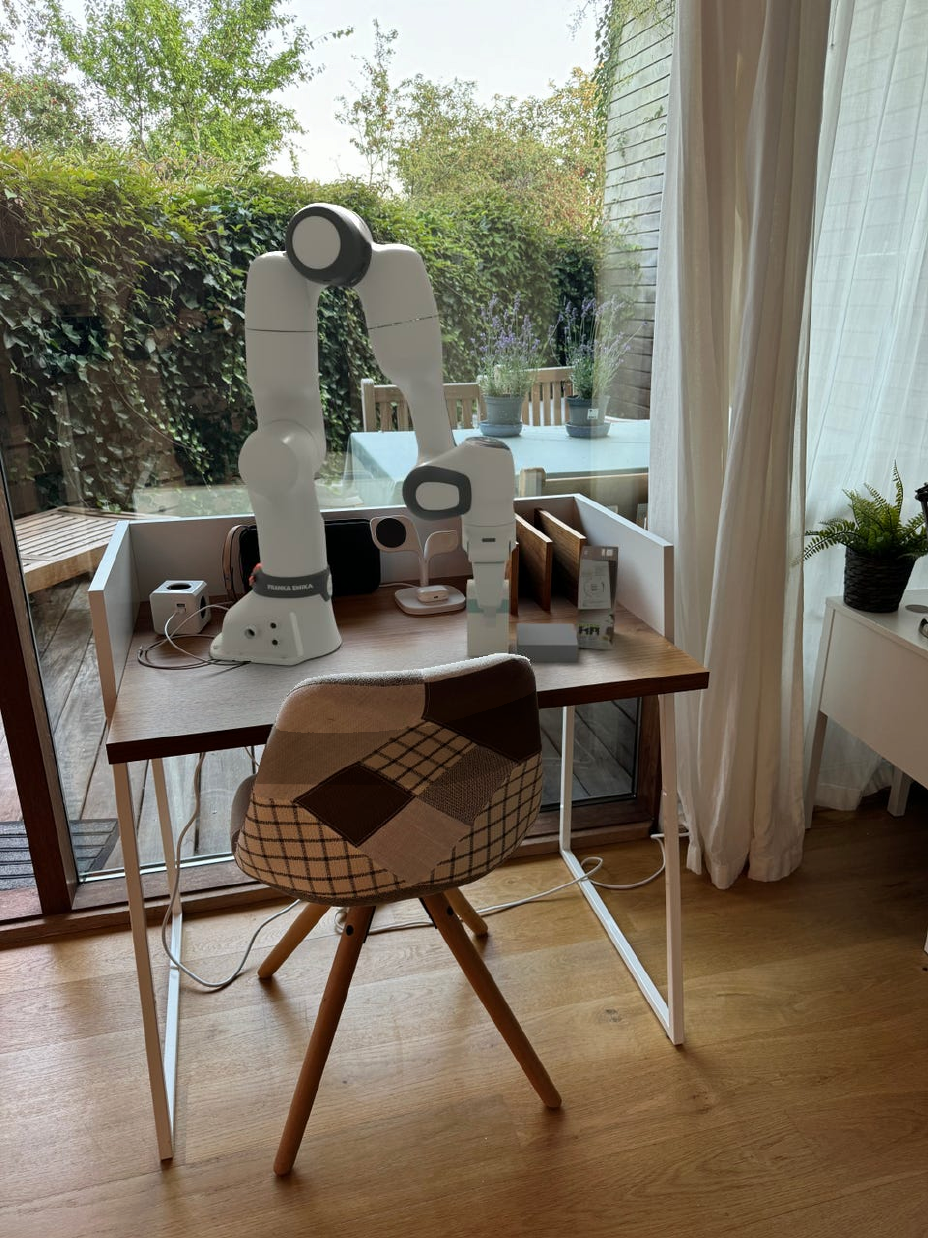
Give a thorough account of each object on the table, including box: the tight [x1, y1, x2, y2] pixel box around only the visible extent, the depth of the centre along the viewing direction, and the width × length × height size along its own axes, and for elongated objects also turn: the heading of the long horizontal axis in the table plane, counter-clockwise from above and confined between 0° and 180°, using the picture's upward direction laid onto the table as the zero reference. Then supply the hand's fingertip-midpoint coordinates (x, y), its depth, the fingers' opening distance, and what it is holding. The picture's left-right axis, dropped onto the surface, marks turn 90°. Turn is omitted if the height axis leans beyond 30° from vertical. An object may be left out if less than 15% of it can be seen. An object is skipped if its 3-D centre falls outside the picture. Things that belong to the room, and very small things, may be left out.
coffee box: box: [576, 545, 619, 651], centre depth 153 cm, size 9×6×16 cm
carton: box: [466, 579, 510, 657], centre depth 149 cm, size 7×5×12 cm
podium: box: [516, 623, 579, 663], centre depth 151 cm, size 10×10×3 cm
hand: (490, 615), depth 149 cm, fingers open, 8 cm apart
